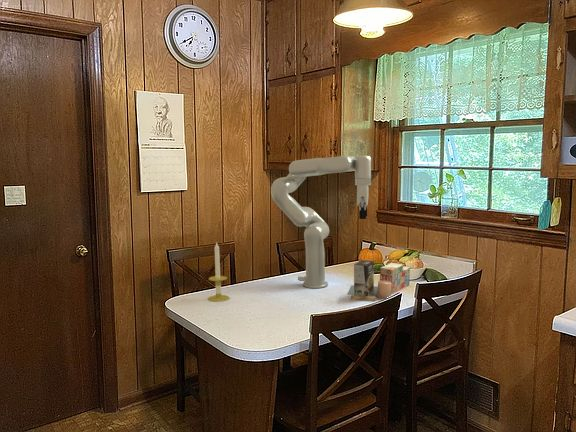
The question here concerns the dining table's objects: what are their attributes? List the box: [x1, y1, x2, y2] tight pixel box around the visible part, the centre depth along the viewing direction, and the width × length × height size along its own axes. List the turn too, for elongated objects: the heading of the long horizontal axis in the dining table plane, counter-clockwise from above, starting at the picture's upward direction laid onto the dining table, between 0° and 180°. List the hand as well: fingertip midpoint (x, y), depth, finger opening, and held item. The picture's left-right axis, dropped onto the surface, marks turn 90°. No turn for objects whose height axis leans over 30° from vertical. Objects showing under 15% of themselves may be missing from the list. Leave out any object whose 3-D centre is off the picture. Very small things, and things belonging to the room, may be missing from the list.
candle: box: [207, 242, 230, 303], centre depth 223 cm, size 10×10×27 cm
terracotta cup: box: [376, 279, 392, 300], centre depth 221 cm, size 6×6×7 cm
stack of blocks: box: [379, 262, 411, 295], centre depth 234 cm, size 21×6×12 cm, turn 143°
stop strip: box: [350, 295, 376, 302], centre depth 218 cm, size 11×1×2 cm, turn 76°
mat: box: [347, 284, 378, 297], centre depth 233 cm, size 16×16×1 cm
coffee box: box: [353, 259, 375, 297], centre depth 222 cm, size 9×6×16 cm
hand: (363, 217), depth 231 cm, fingers open, 9 cm apart
